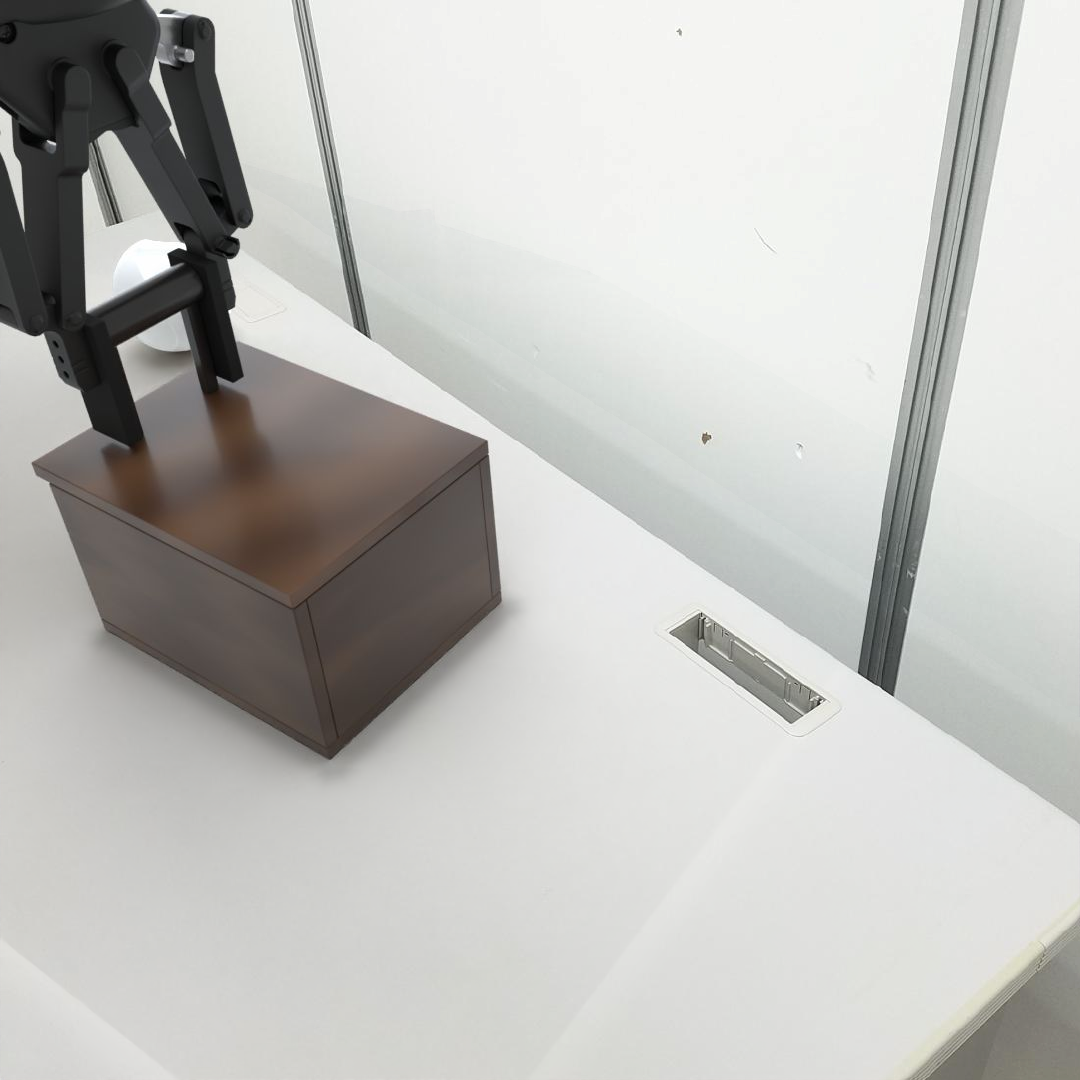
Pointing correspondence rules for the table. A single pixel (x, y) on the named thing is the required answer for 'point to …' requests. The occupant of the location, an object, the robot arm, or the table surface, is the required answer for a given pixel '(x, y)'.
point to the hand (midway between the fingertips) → (170, 401)
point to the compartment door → (256, 456)
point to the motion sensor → (138, 267)
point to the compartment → (302, 612)
